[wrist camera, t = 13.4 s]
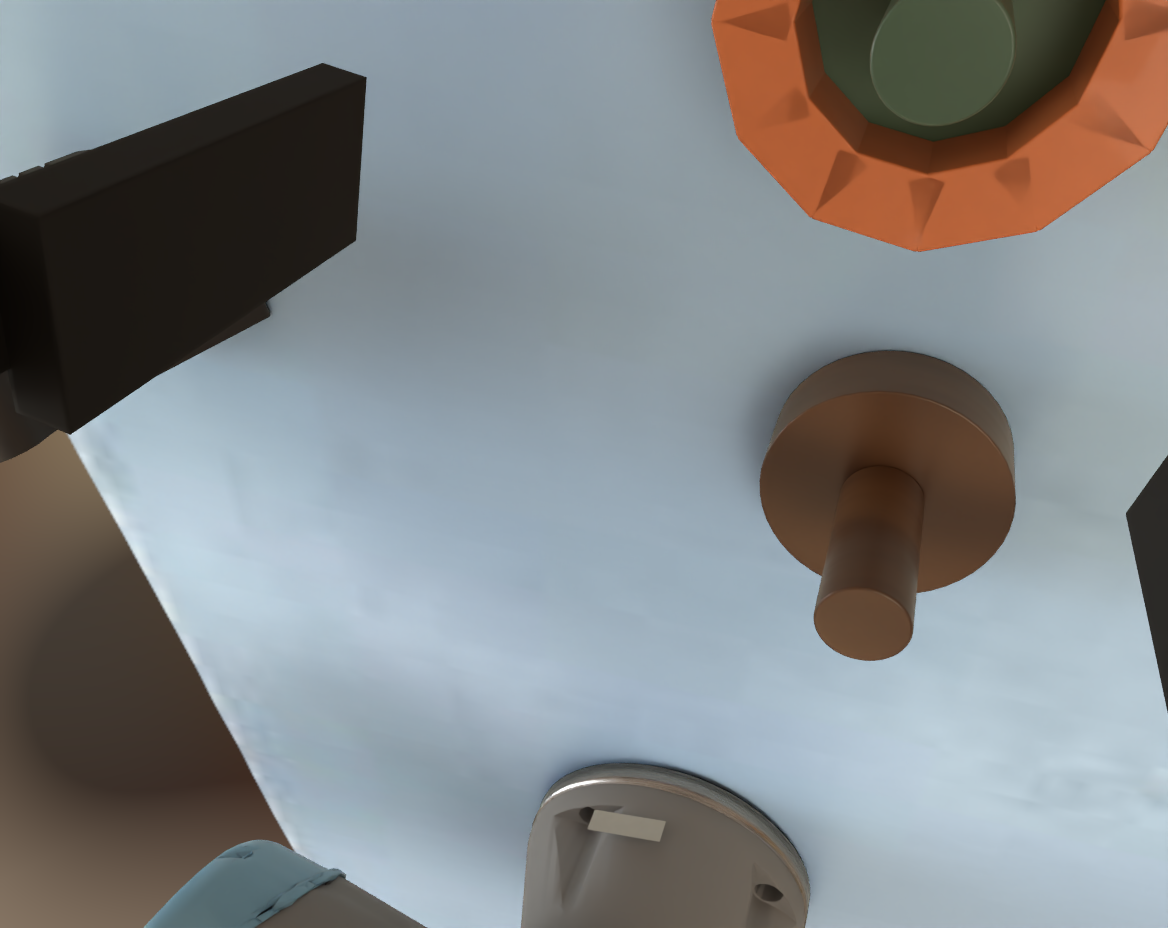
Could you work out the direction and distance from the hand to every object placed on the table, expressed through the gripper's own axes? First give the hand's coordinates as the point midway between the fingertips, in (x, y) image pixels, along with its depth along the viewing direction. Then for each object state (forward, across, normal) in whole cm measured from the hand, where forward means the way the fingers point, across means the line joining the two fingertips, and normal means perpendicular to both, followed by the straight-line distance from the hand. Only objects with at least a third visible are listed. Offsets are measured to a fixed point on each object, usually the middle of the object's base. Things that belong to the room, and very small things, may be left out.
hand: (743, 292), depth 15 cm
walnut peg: (+18, -6, +12) cm, 23 cm away
